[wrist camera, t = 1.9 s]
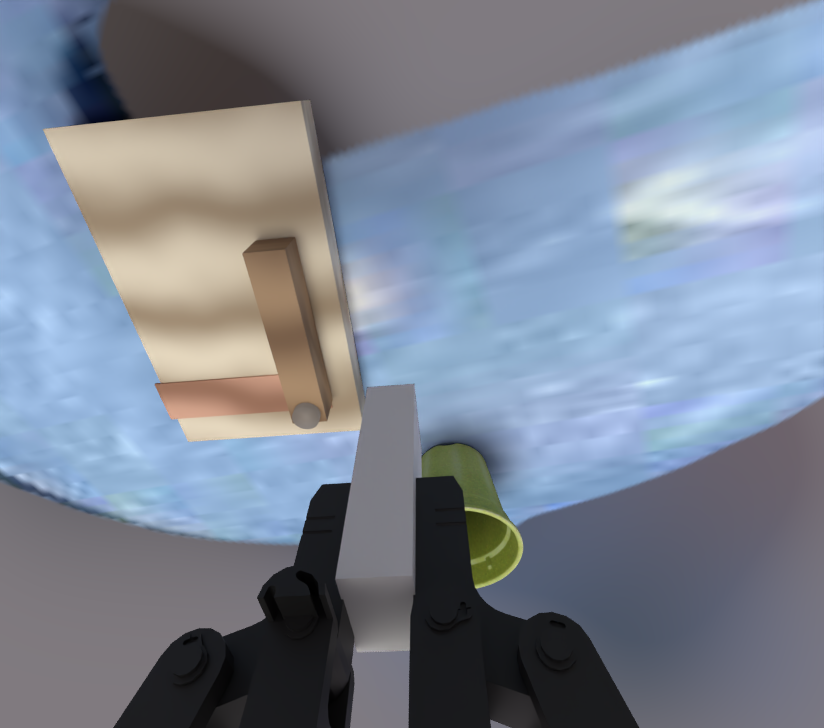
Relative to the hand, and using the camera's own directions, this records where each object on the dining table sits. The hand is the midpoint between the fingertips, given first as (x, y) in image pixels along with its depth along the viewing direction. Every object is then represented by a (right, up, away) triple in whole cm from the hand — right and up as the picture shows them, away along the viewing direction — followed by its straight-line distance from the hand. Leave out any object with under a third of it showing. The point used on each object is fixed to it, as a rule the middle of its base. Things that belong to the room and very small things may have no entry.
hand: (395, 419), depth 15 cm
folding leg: (-7, +4, +15) cm, 17 cm away
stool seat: (-11, +7, +17) cm, 21 cm away
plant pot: (+4, -7, +26) cm, 27 cm away
